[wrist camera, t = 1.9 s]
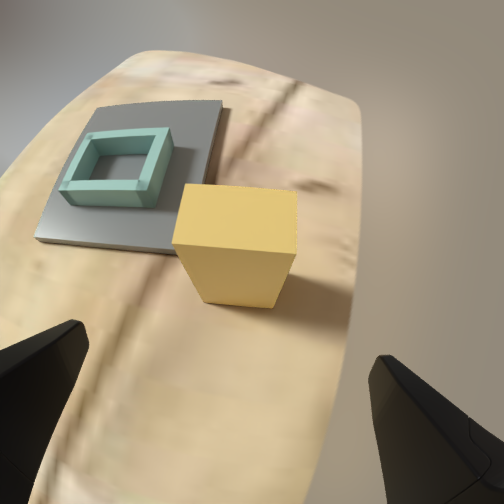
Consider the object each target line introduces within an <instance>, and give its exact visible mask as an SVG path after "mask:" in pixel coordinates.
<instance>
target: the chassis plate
mask: <svg viewBox="0 0 504 504" xmlns="http://www.w3.org/2000/svg"><path fill="white" fill-rule="evenodd" d="M222 108H223V105H222V100H183V101H159V102H145V103H133V104H123V105H115V106H107V107H100V108H97V109H96V111H95V112H94V114H93V115H92V117H91V118H90V120H89V122H88V123H87V125H86V127H85V128H84V130H83V132H82V133H81V135H80V137H79V138H78V140H77V142H76V144H75V146H74V147H73V149H72V151H71V153H70V155H69V157H68V159H67V160H66V162H65V164H64V166H63V168H62V170H61V172H60V174H59V177H58V179H57V181H56V183H55V185H54V187H53V189H52V192H51V194H50V196H49V199H48V201H47V203H46V206H45V208H44V211H43V213H42V216H41V218H40V221H39V223H38V226H37V229H36V232H35V234H34V238H36V239H37V240H38V241H40V242H50V243H60V244H69V245H79V246H90V247H100V248H110V249H121V250H131V251H142V252H153V253H163V254H174V255H177V253H176V251H175V249H174V247H173V245H172V239H173V234H174V230H175V225H176V221H177V216H178V212H179V208H180V203H181V199H182V195H183V191H184V187H185V184H205V179H206V175H207V170H208V166H209V161H210V157H211V153H212V148H213V144H214V140H215V136H216V132H217V128H218V123H219V120H220V116H221V112H222Z"/></svg>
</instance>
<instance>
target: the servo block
mask: <svg viewBox="0 0 504 504" xmlns="http://www.w3.org/2000/svg"><path fill="white" fill-rule="evenodd" d="M172 245H173V247H174V249H175V251H176V253H177V255H178V257H179V259H180V260H181V262H182V264H183V266H184V268H185V270H186V272H187V273H188V275H189V277H190V279H191V281H192V283H193V284H194V286H195V288H196V290H197V291H198V293H199V295H200V297H201V299H202V300H203V302H205V303H215V304H225V305H236V306H247V307H259V308H272V309H273V307H274V304H275V302H276V300H277V298H278V295H279V293H280V291H281V289H282V286H283V284H284V282H285V280H286V277H287V275H288V273H289V270H290V268H291V266H292V263H293V261H294V259H295V256H296V252H297V192H295V191H286V190H275V189H264V188H252V187H238V186H223V185H206V184H185V187H184V191H183V195H182V199H181V203H180V208H179V212H178V216H177V221H176V225H175V230H174V234H173V239H172Z"/></svg>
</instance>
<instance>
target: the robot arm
mask: <svg viewBox="0 0 504 504" xmlns="http://www.w3.org/2000/svg"><path fill="white" fill-rule="evenodd" d="M88 349H89V340H88V337H87V333H86V330H85V326H84V324H83V323H82V322H81V321H77V320H73V319H71V320H69V321H66V322H64V323H62V324H59V325H57V326H55V327H52V328H50V329H48V330H46V331H43V332H41V333H39V334H36V335H34V336H32V337H30V338H27V339H25V340H23V341H20V342H18V343H16V344H14V345H11V346H9V347H7V348H5V349H2V350H0V504H28V501H29V498H30V494H31V491H32V488H33V485H34V482H35V479H36V476H37V473H38V470H39V468H40V465H41V462H42V459H43V457H44V454H45V452H46V449H47V447H48V444H49V442H50V439H51V437H52V434H53V432H54V430H55V427H56V425H57V423H58V420H59V418H60V416H61V414H62V411H63V409H64V407H65V405H66V403H67V401H68V398H69V396H70V394H71V392H72V390H73V388H74V386H75V383H76V380H77V378H78V375H79V372H80V370H81V367H82V364H83V362H84V359H85V357H86V354H87V352H88ZM368 383H369V391H370V399H371V409H372V419H373V425H374V431H375V435H376V440H377V445H378V450H379V456H380V461H381V467H382V472H383V478H384V484H385V491H386V498H387V504H504V442H503V441H501V440H500V439H499V438H497V437H496V436H494V435H493V434H491V433H490V432H488V431H487V430H485V429H484V428H483V427H482V426H480V425H479V424H478V423H476V422H475V421H474V420H473V419H471V418H470V417H469V418H468V415H466V414H465V413H464V412H463V411H461V410H460V409H459V408H458V407H456V406H455V405H454V404H452V403H451V402H450V401H449V400H448V399H446V398H445V397H444V396H443V395H441V394H440V393H439V392H437V391H436V390H435V389H434V388H432V387H431V386H430V385H429V384H427V383H426V382H425V381H424V380H422V379H421V378H420V377H419V376H417V375H416V374H415V373H413V372H412V371H411V370H410V369H408V368H407V367H406V366H405V365H403V364H402V363H401V362H400V361H398V360H397V359H396V358H394V357H393V356H391V355H379V356H378V357H377V358H376V360H375V363H374V365H373V367H372V369H371V371H370V374H369V378H368Z"/></svg>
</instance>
